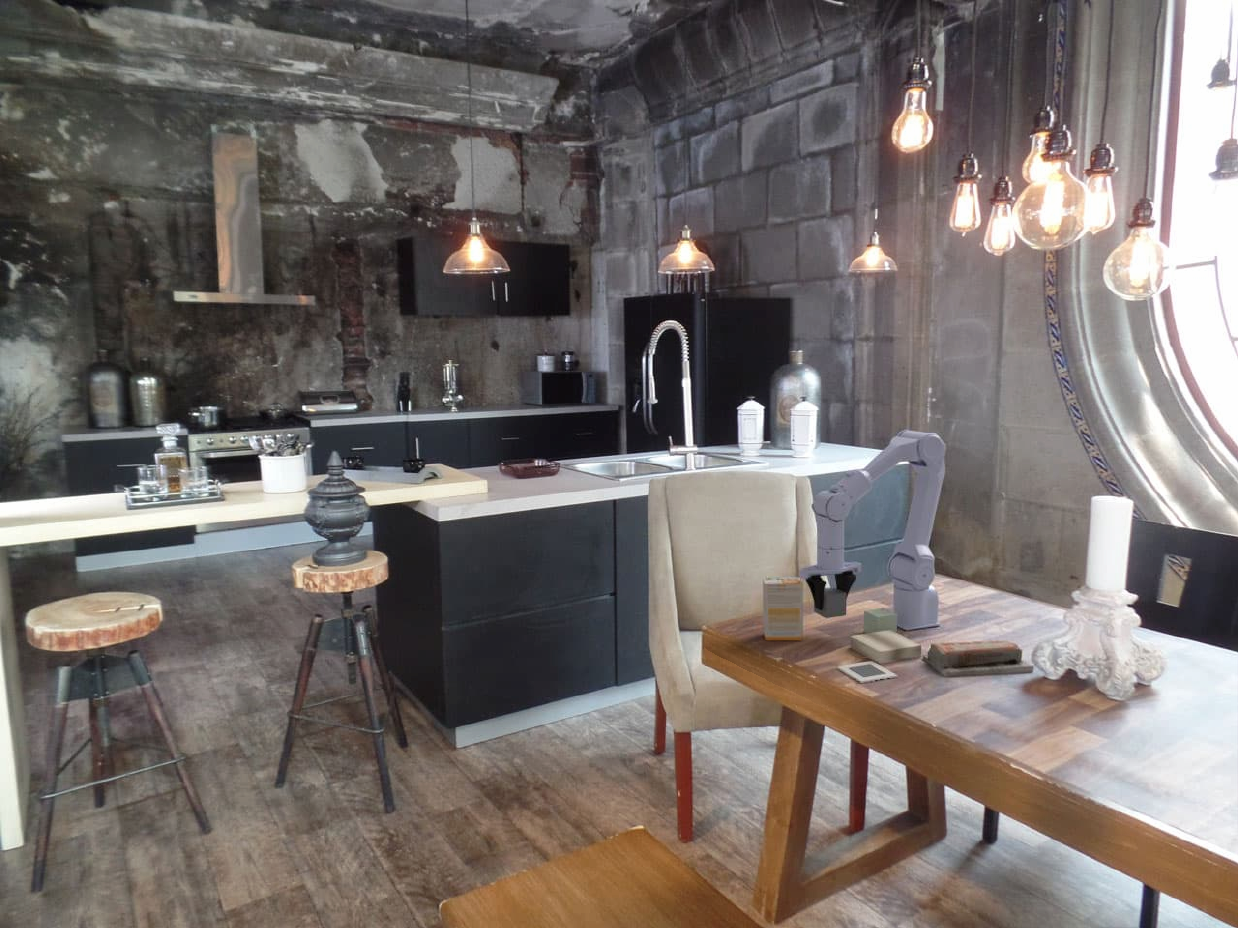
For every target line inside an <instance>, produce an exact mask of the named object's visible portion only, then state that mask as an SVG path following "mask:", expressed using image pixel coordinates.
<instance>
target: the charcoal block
mask: <svg viewBox="0 0 1238 928" xmlns="http://www.w3.org/2000/svg"><path fill="white" fill-rule="evenodd" d="M846 598H847V599H848V596H847V593H845V592H843V591H841V590H839V589H837V588H836V586H835V587H834V586H831V587H825V590H824V604H823V610H819V609H817V608H815V604H814V603H813V612H814V613H815V614H818V615H820V616H822V617H824V618H826V619H829V618H837V617H842V616H847V600H846Z"/></svg>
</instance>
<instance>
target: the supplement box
mask: <svg viewBox="0 0 1238 928" xmlns="http://www.w3.org/2000/svg"><path fill="white" fill-rule="evenodd" d="M762 579H763V580H762V585H763V587H762V589H763V591H762V593H763V594H762V595H763V596H762V598H763V600H762V601H763V604H762V605H763V635H764V638H765V641H803V640H804V634H803V633H804V630H803V629H804V625H803V623H804V621H803V620H804V619H803V618H804V617H803V615H804V614H803V613H804V611H803V609H804V608H803V602H804V601H803V598H804V597H803V596H804V595H803V593H804V592H803V590H804V589H803V587H804V586H803V582H802V580H801V578H800V577H763V578H762Z"/></svg>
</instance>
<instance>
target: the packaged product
mask: <svg viewBox="0 0 1238 928" xmlns="http://www.w3.org/2000/svg"><path fill="white" fill-rule="evenodd" d="M1022 658H1023V649H1021V647H1019V645H1018V644H1017V643H1015V642H1010V641H1006V640H988V641H987V640H983V641H982V640H981V641H979V640H978V641H977V640H975V641H961V642H960V641H954V642H951V641H950V642H935V643H931V644H930V648H929V649H928V651H927V654H922V659H923V660H924V661H925V662H927V664H929V665H930V666H931V667H933V668H934V669H935V670H936V671H937V672H938V673H940V674H941V675H942V676H944V677H949V678H950V677H960V676H961V677H963V676H965V677H966V676H984V675H985V676H986V675H987V676H988V675H1004V674H1005V675H1006V674H1008V675H1009V674H1020V673H1022V674H1023V673H1032V672H1033V671H1034V665H1032V664H1031V663H1029V662H1028V661H1026V660H1023V659H1022Z"/></svg>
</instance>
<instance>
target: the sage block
mask: <svg viewBox="0 0 1238 928" xmlns="http://www.w3.org/2000/svg"><path fill="white" fill-rule="evenodd" d="M887 630H891V631H893V632H895V633H897V634H898V626H897V614H896V613H894V612H893V611H891V610H889V609H888V608H884V607H879V608H871V609H865V610H863V632H864V634H868V633H874V632H881V631H887Z"/></svg>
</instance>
